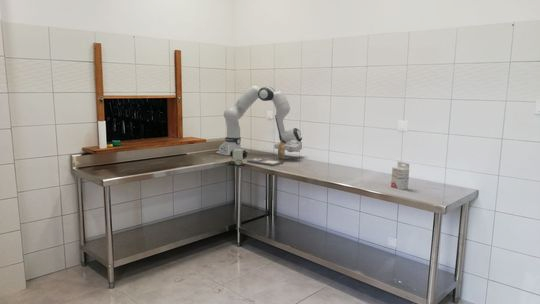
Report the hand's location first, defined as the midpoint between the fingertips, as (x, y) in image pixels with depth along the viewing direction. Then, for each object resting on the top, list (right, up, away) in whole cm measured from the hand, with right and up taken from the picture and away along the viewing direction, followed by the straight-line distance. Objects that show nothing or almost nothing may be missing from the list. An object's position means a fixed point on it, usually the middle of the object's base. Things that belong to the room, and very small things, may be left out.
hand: (280, 148), depth 310 cm
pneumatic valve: (-31, -12, -13) cm, 35 cm away
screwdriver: (0, -7, +2) cm, 7 cm away
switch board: (-12, -11, -4) cm, 17 cm away
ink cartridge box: (+67, -24, -73) cm, 102 cm away
